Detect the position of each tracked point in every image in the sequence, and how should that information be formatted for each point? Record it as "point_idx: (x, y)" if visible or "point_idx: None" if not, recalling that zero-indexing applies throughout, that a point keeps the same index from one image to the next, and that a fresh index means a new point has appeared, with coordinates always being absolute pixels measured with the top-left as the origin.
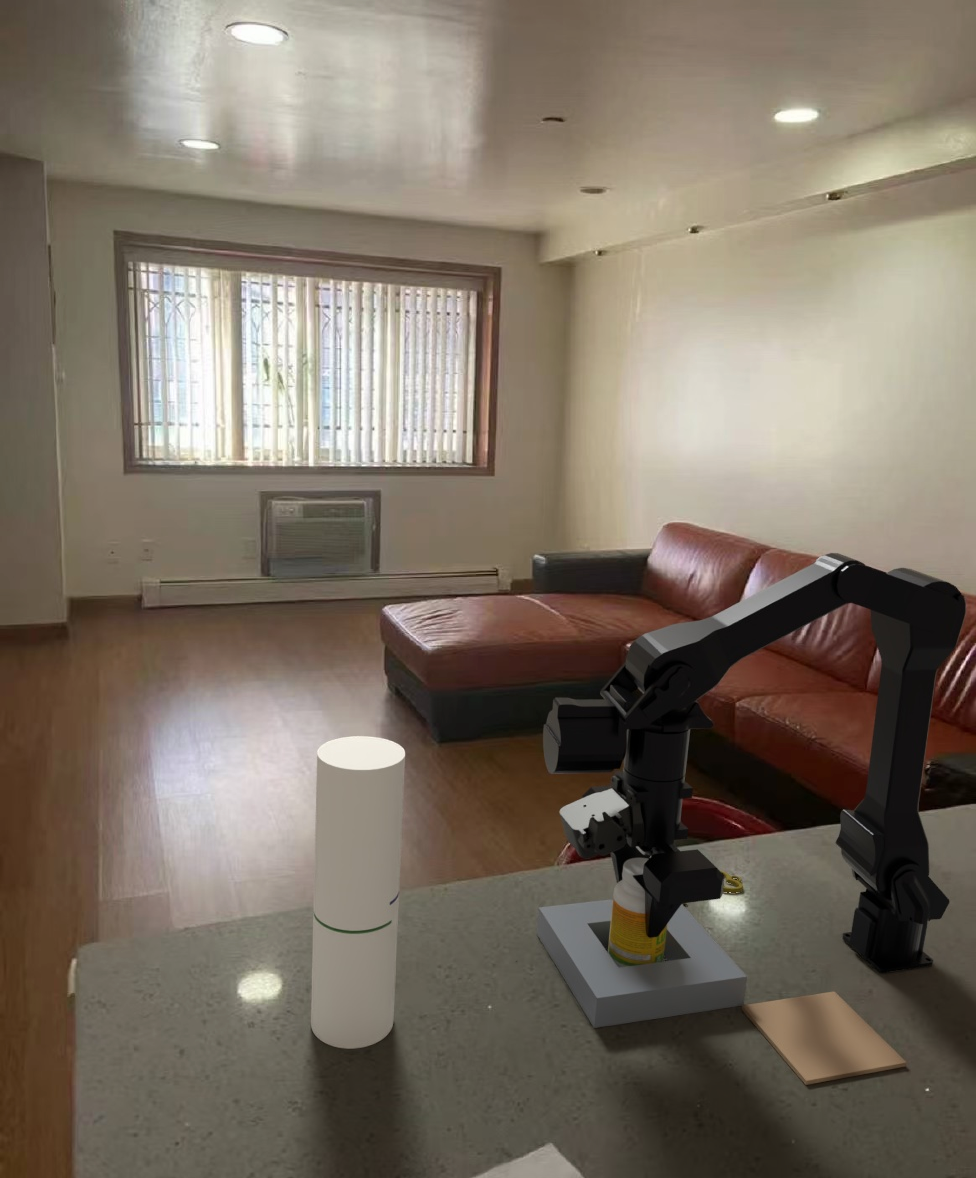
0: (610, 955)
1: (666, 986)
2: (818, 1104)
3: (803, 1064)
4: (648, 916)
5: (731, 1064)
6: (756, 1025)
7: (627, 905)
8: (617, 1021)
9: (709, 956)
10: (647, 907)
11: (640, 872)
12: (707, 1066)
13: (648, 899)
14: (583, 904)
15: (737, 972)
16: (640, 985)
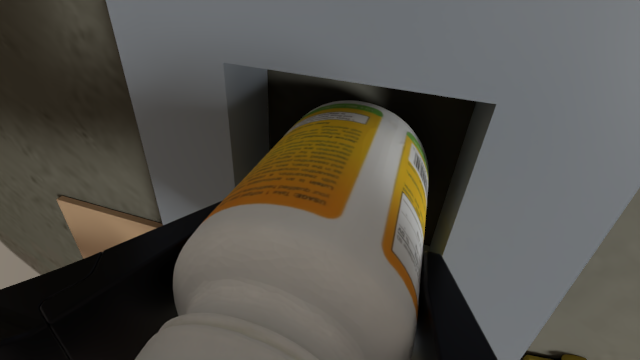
0: (361, 104)
1: (145, 136)
2: (34, 184)
3: (84, 217)
4: (140, 239)
5: (84, 136)
6: (162, 225)
7: (211, 222)
8: None
9: None
10: (107, 263)
11: None
12: (74, 97)
13: (41, 292)
14: (633, 167)
15: None
16: (145, 76)
